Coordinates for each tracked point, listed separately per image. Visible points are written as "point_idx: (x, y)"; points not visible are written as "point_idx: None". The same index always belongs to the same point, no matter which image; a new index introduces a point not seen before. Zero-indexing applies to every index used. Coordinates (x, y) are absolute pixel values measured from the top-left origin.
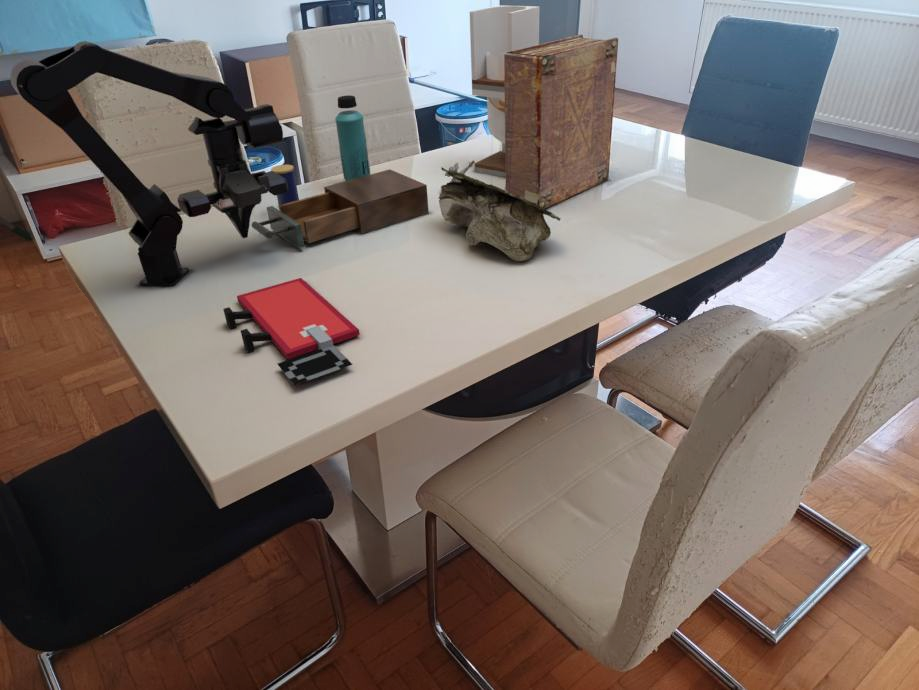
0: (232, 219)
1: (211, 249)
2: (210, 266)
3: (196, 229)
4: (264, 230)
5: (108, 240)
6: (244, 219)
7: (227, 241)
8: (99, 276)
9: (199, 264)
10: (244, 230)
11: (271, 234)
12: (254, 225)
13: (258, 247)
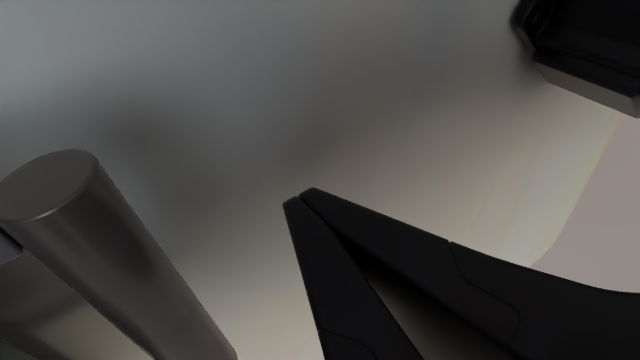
0: (523, 274)
1: None
2: (439, 31)
3: None
4: (122, 258)
5: None
6: (393, 318)
7: None
8: None
9: (458, 78)
10: (332, 228)
11: (10, 196)
12: (221, 348)
13: (176, 212)
